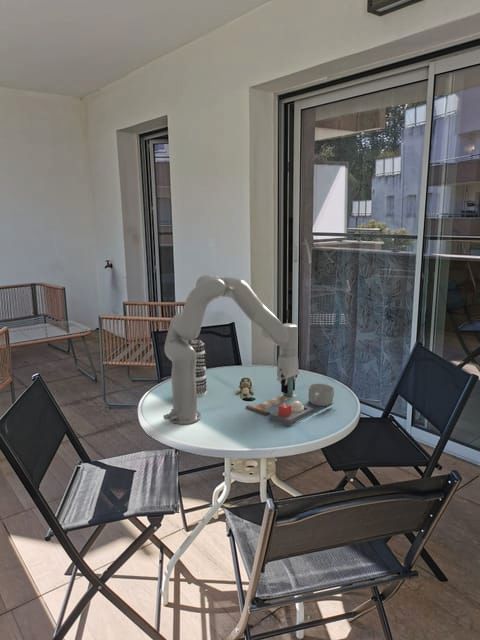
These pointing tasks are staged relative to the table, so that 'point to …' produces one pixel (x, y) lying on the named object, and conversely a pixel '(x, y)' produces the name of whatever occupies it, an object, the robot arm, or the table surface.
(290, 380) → the green capsule
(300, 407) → the dome
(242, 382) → the figurine
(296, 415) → the base
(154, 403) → the table surface
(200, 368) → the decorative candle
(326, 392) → the teacup
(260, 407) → the track board
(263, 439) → the table surface
